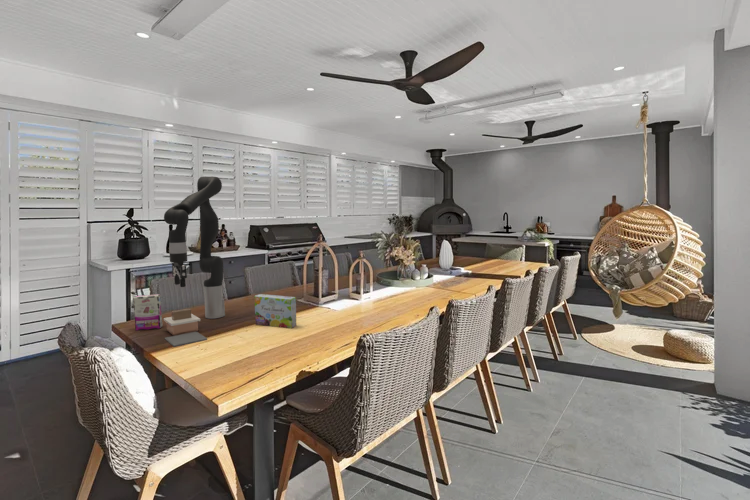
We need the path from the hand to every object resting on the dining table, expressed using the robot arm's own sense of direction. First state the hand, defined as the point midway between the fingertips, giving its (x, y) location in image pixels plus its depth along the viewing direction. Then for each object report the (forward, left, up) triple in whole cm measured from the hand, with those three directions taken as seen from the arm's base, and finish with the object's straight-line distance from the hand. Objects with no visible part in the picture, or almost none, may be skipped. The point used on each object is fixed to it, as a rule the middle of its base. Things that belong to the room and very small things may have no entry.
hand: (180, 285), depth 196 cm
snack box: (-38, +22, -22) cm, 49 cm away
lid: (0, 0, -17) cm, 17 cm away
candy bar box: (+11, -15, -22) cm, 29 cm away
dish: (0, 0, -22) cm, 22 cm away
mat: (+3, +15, -22) cm, 27 cm away
